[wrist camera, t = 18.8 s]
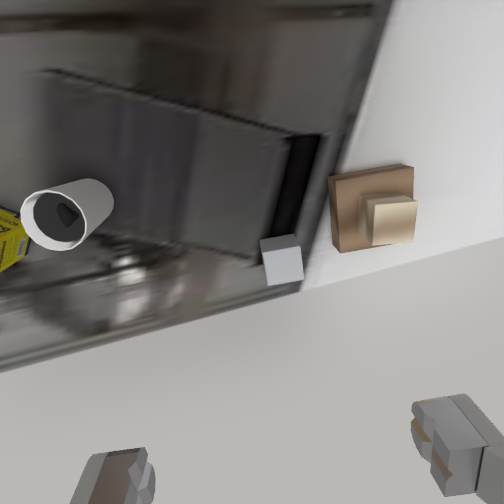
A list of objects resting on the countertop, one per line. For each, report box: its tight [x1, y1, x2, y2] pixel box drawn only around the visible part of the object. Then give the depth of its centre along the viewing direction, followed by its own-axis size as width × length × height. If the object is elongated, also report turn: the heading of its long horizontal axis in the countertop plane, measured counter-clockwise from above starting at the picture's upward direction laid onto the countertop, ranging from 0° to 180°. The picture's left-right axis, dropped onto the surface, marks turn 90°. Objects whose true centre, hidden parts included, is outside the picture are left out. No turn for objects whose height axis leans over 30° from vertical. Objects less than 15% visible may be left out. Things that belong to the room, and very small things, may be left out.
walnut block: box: [328, 164, 414, 253], centre depth 45 cm, size 10×10×4 cm
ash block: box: [357, 192, 418, 246], centre depth 40 cm, size 5×5×5 cm
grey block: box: [260, 234, 304, 286], centre depth 46 cm, size 5×5×5 cm
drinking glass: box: [21, 178, 114, 251], centre depth 39 cm, size 7×7×10 cm
